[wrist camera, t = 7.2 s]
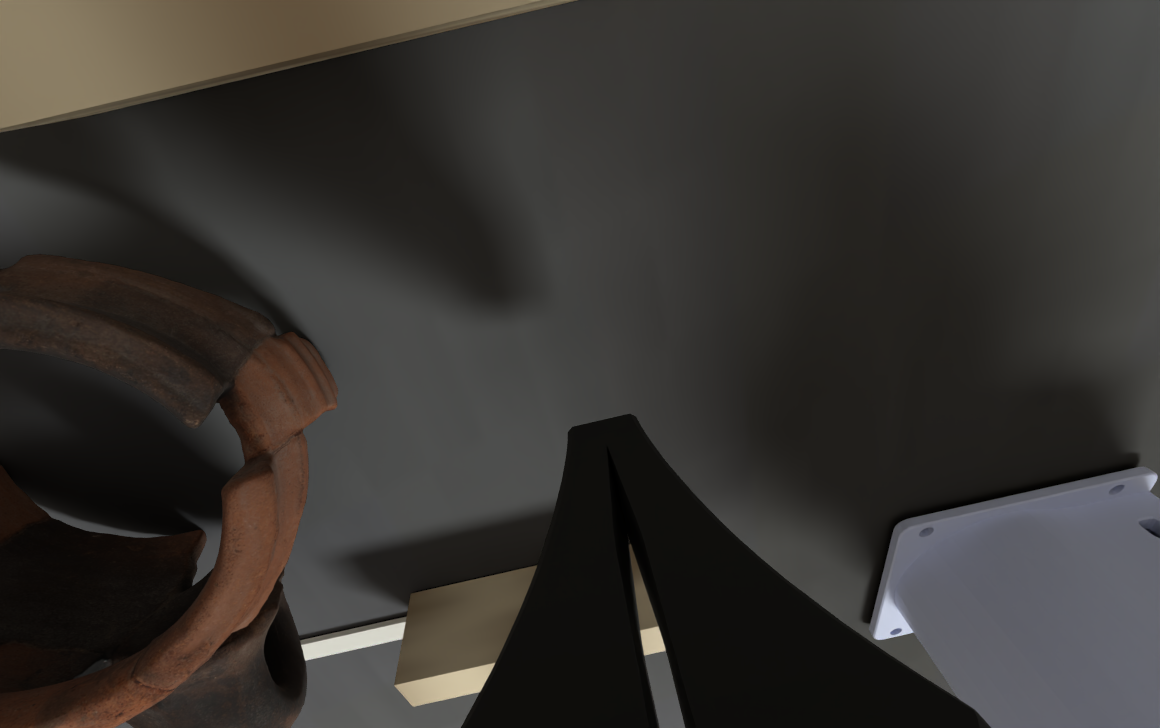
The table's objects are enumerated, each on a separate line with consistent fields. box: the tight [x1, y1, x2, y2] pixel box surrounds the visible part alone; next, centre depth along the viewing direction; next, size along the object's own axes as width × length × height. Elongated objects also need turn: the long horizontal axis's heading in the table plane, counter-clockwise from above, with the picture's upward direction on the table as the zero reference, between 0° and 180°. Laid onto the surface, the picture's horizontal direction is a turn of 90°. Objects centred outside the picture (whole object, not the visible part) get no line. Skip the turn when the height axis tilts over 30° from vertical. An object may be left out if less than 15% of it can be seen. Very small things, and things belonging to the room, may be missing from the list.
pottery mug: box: [0, 254, 338, 728], centre depth 11 cm, size 12×10×8 cm
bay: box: [300, 617, 406, 661], centre depth 13 cm, size 9×20×1 cm, turn 11°
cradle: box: [0, 0, 666, 707], centre depth 12 cm, size 11×18×3 cm, turn 11°
